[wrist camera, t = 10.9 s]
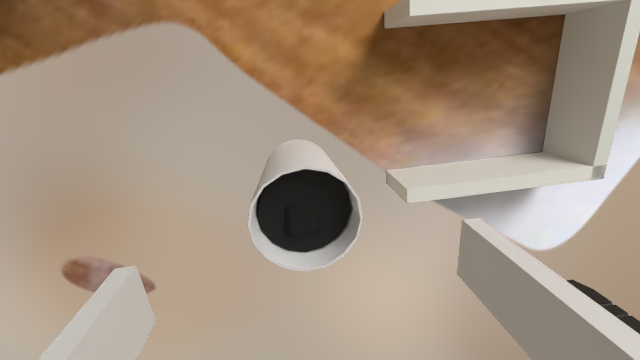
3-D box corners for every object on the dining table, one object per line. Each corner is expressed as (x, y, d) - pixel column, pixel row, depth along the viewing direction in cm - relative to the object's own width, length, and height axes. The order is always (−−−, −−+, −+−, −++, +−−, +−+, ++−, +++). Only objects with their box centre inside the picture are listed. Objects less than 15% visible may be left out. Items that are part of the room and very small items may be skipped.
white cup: (335, 203, 28) (361, 267, 18) (263, 207, 27) (252, 275, 18) (335, 132, 26) (365, 164, 16) (257, 135, 25) (241, 169, 16)
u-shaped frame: (384, 11, 23) (410, -6, 18) (581, -4, 24) (652, -23, 20) (386, 182, 28) (407, 203, 23) (551, 162, 29) (603, 178, 24)
